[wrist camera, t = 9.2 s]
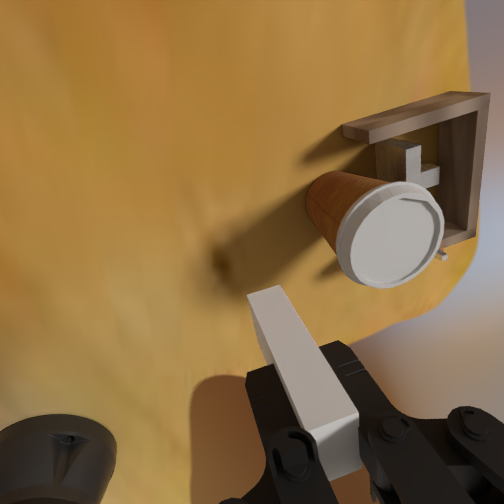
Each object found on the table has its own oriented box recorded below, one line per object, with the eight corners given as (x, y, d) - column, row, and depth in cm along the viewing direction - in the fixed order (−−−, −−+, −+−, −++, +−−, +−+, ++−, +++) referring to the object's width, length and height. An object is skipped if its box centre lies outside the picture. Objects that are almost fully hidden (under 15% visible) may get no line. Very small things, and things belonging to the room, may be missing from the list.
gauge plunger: (379, 230, 42) (431, 265, 34) (374, 141, 37) (434, 158, 29) (422, 215, 43) (482, 246, 35) (423, 125, 37) (495, 138, 30)
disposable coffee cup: (385, 190, 40) (467, 230, 29) (328, 252, 42) (387, 310, 31) (334, 135, 35) (411, 160, 25) (273, 207, 37) (321, 257, 27)
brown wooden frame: (354, 252, 43) (379, 274, 38) (342, 124, 35) (370, 131, 30) (443, 221, 44) (477, 238, 39) (450, 91, 36) (493, 93, 32)
